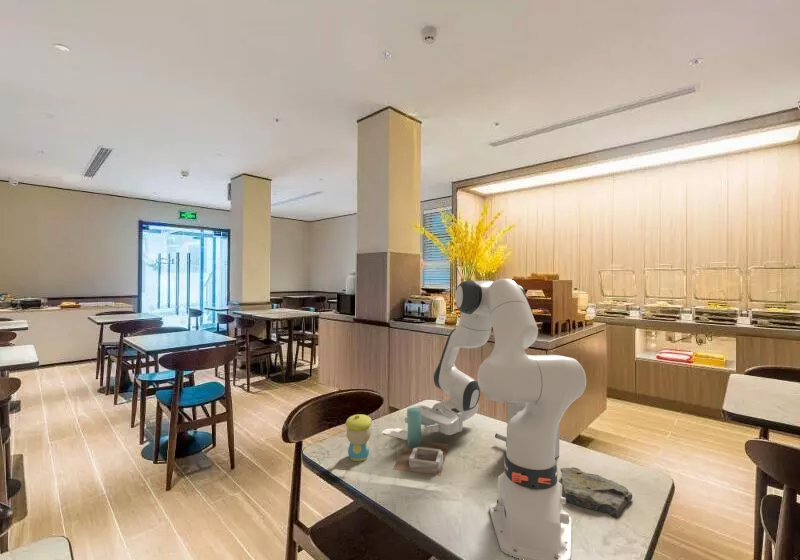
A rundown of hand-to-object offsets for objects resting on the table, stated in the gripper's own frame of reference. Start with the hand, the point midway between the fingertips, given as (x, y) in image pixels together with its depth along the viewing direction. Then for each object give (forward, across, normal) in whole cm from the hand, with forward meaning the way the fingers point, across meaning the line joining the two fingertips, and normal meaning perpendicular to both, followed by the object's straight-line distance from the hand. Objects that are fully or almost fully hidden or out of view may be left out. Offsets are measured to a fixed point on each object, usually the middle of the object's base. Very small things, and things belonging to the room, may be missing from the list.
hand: (415, 424), depth 124 cm
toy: (+19, -6, +9) cm, 22 cm away
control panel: (-24, +24, +9) cm, 35 cm away
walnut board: (+3, +7, +8) cm, 11 cm away
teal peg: (0, 0, +7) cm, 7 cm away
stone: (-19, +50, +9) cm, 54 cm away
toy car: (-2, -11, +9) cm, 14 cm away
